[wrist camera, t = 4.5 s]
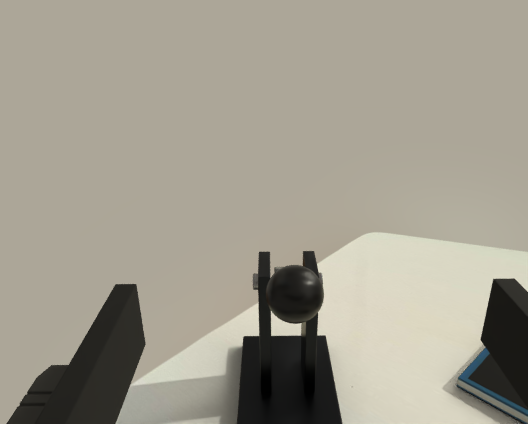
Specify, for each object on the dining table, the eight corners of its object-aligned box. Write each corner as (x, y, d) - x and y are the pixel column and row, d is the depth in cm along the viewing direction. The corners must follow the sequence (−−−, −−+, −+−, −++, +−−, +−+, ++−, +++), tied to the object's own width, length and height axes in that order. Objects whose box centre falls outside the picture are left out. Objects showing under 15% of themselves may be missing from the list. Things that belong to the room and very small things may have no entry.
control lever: (328, 328, 26) (326, 265, 26) (266, 328, 26) (265, 266, 26) (307, 300, 40) (306, 259, 40) (267, 300, 40) (266, 260, 40)
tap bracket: (342, 438, 38) (352, 303, 32) (237, 439, 38) (229, 304, 32) (325, 344, 49) (330, 232, 43) (243, 345, 49) (239, 233, 43)
